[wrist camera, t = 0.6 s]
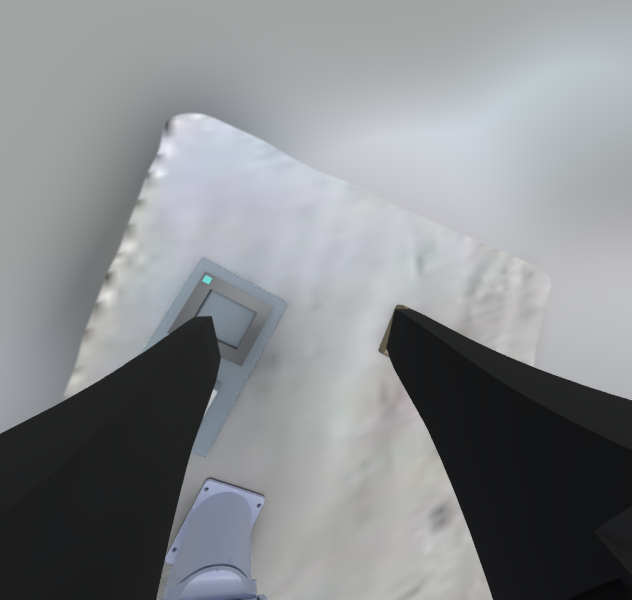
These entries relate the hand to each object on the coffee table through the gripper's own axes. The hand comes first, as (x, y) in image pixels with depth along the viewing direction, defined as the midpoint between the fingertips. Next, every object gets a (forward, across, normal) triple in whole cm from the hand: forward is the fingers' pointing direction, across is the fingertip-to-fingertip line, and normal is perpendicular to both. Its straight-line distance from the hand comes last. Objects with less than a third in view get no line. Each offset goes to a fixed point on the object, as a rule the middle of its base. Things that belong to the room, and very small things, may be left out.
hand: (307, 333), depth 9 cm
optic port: (+18, +9, +10) cm, 22 cm away
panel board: (+16, +11, +14) cm, 24 cm away
